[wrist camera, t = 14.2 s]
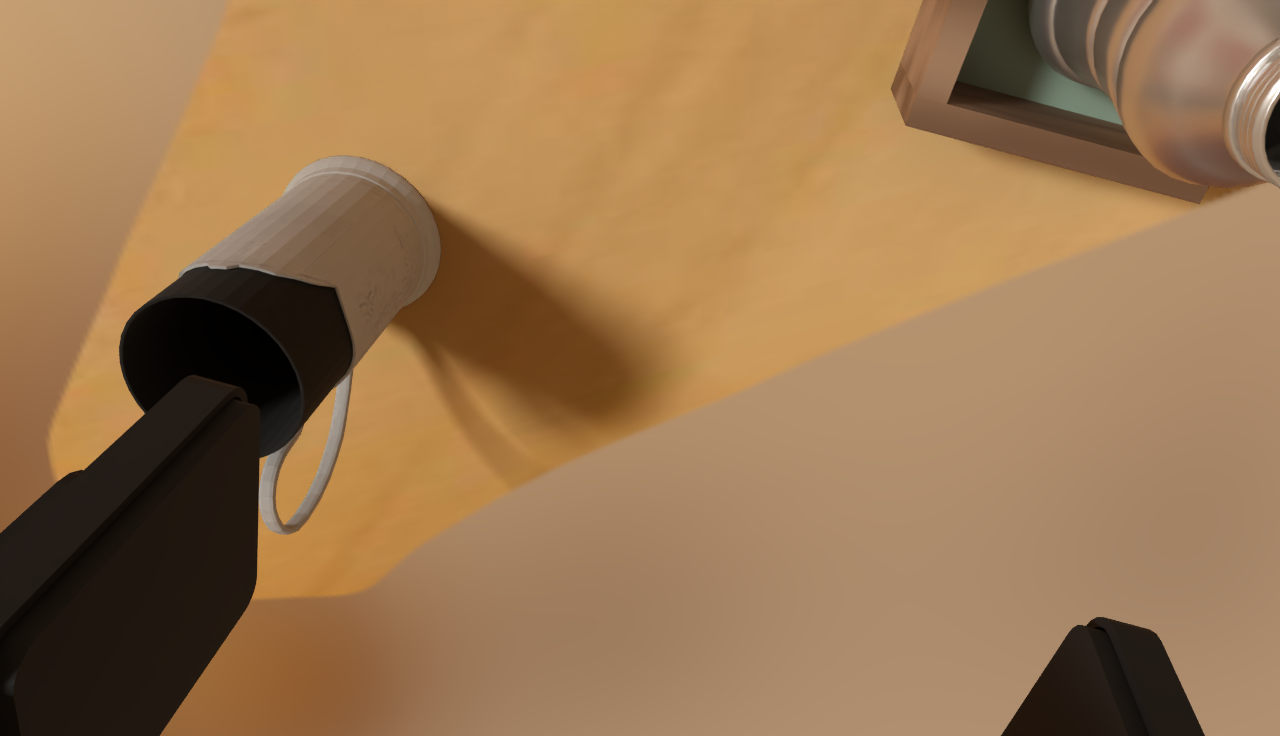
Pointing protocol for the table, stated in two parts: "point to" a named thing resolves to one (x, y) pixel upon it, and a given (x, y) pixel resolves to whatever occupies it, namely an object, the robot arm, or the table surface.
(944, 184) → the table surface
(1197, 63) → the plastic bottle
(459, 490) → the table surface
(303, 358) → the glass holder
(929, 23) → the u rest
